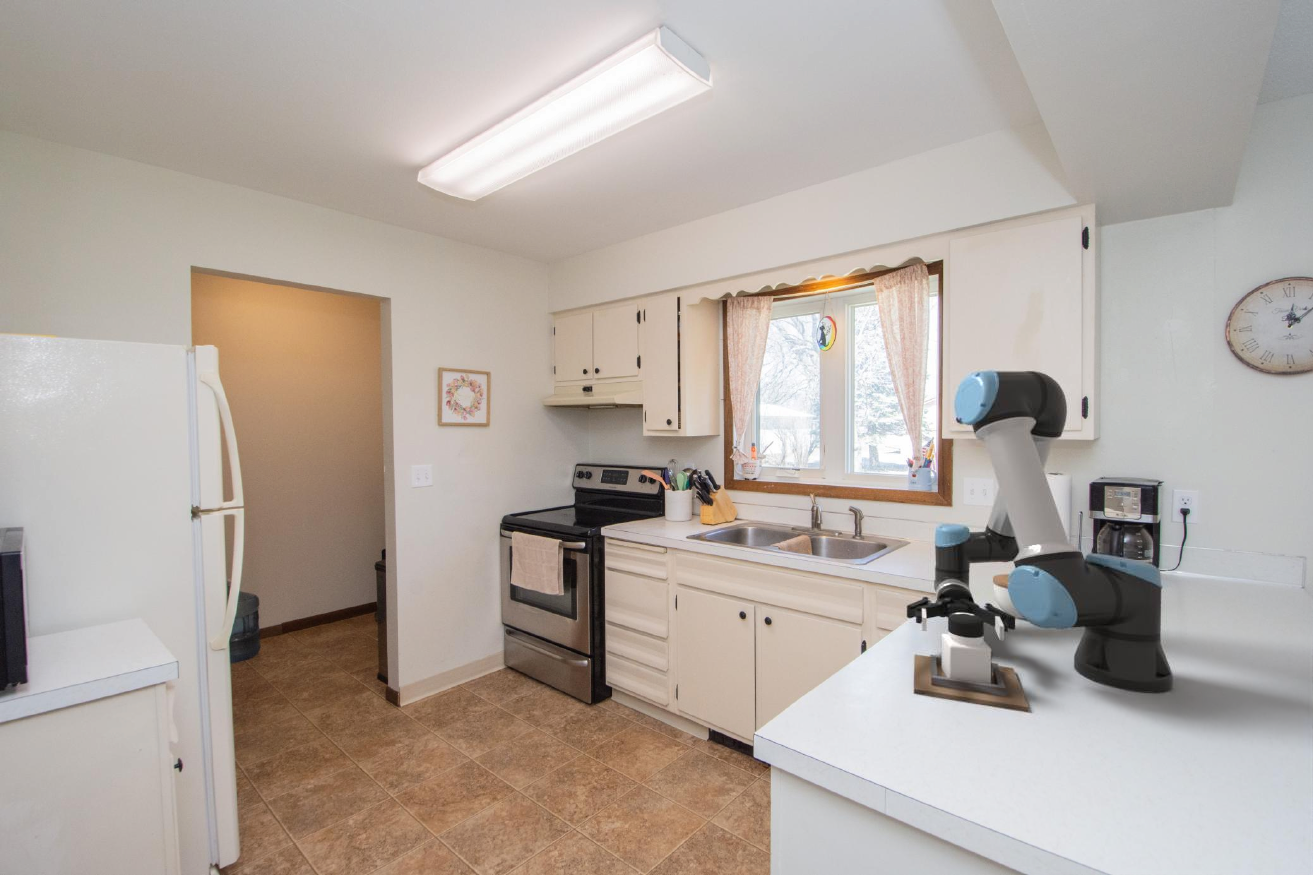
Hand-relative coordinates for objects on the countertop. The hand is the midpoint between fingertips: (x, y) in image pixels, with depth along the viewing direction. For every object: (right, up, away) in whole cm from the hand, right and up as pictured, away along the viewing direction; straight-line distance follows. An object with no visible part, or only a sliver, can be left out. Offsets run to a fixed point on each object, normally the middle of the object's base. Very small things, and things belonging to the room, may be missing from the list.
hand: (962, 628), depth 116 cm
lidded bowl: (+34, -9, +37) cm, 51 cm away
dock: (-1, -9, -3) cm, 10 cm away
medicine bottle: (-1, -9, -3) cm, 9 cm away
